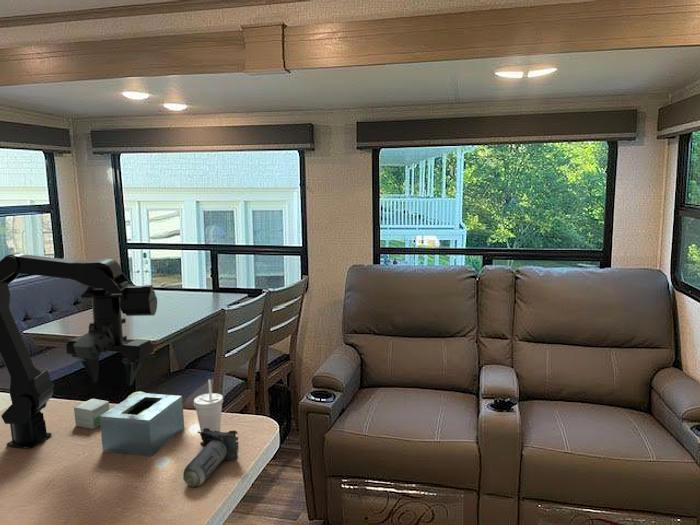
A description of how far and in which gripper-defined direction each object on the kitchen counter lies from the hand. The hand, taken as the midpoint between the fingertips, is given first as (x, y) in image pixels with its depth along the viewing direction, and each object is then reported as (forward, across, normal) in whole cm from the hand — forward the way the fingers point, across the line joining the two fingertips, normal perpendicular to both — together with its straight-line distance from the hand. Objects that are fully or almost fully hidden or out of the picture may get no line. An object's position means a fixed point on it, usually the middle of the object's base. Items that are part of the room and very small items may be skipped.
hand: (112, 383), depth 120 cm
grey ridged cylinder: (+12, +29, -10) cm, 33 cm away
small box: (+13, -10, +5) cm, 18 cm away
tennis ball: (+13, -1, +10) cm, 16 cm away
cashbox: (+12, +8, 0) cm, 15 cm away
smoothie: (+12, +23, +2) cm, 26 cm away
